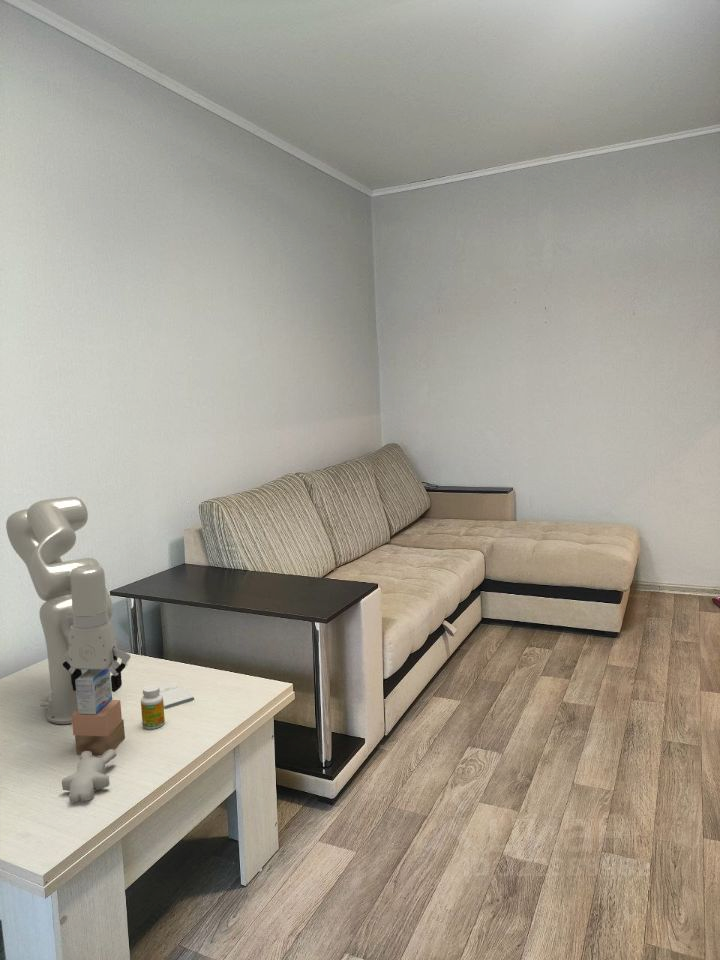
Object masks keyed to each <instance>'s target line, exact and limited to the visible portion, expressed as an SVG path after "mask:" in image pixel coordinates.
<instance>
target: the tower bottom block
mask: <svg viewBox="0 0 720 960" xmlns="http://www.w3.org/2000/svg"><path fill="white" fill-rule="evenodd" d="M125 734H126V733H125V721H124V719H123V718H122V720H121V721H120V722H119V723H118V724H117V725H116V726H115V727H114V728H113V730H112V731H111V732H110V733H109V734H108V735H107V736H81V735H74V737H75V749H76V755H79V756H81V754H82V752H84V751H90V752H91V753H92V756H100V757H101V756H102V755H103V753H104V752H106V751H107V750H109V749H113V750H114V751H115V750H116V749H117V748H118V747H119V746H120V744H122V743H123V741H124V740H125V739H126V735H125Z"/></svg>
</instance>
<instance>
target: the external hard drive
mask: <svg viewBox="0 0 720 960" xmlns="http://www.w3.org/2000/svg"><path fill="white" fill-rule="evenodd" d="M159 688H160V694H162V696H163V704H164V710H167V709H171V708H173V707H177V706H180V705H185V704H187V703H190V702H193V700H194V701H195V697H194V695H192V694H191V693H190V692H189V691H188V690H186V689H185V688H184V687H183V686H182V685H181V684H179V682H177V681H174V682H171V683H167V684H164V685H161V686H160V685H159Z"/></svg>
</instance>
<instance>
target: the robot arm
mask: <svg viewBox="0 0 720 960" xmlns="http://www.w3.org/2000/svg"><path fill="white" fill-rule="evenodd" d="M88 515H89V513H88V508H87V505H86V504H85V502H84V501H83V500H82V499H81V498H79V497H77V496H68V497H66V496H65V497H60V498H59V497H57V498H50V499H44V500H39V501H36V502H35V503H33V504H31V506H30V507H28V508H26V509H22V510H18V511H15V512H13V513H12V514H10V515H9V516H8V518H7V520H6V525H5V527H6V528H5V529H6V534H7V537H8V540H9V543H10V545H11V547H12V548H13V550H14V552H15V553H16V554H17V555H18V557H19V558H20V559H21V561H23V563H24V564H25V566H26V568H27V570H28V573H29V576H30V579H31V581H32V585H33V587H34V589H35V591H36V593H37V596H38V597H39V599H40V600H42V601H45V602H44V603H42V604H41V606H40V607H39V611H38V613H39V620H40V621H39V622H40V624H41V628H42V631H43V635H44V640H45V644H46V652H47V653H46V654H47V662H48V672H49V674H48V675H49V683H50V684H49V685H50V694H51V695H42V696H41V697H40V702H39V707H40V708H41V707H43V708H48V711H47V713H46V718H47V721H48V722H49V723H53V724H54V725H55V724H56V725H70V724H72V716H71V715H72V714H73V713H74V712H75V711H76V710H77V709H78V703H77V693H76V683H75V680H76V679H77V678H78V677H80V676H81V675H82V674H83V673H85V672H86V671H87V670H89V669H92V670H105V669H108V670H109V671H110V674H112V675H110V679H111V690H112V693H116V692H117V691H119V689H120V688H122V685H123V681H122V672H123V671H124V669H125V668H126V667H127V666H128V663H129V661H130V659H131V655H130V654H129V653H127V652H125V651H123V650H121V649H119V648H118V646H117V639H116V634H115V631H114V628H113V627H114V626H113V625H112V622H111V621H110V620H112V618H113V615H114V606H113V605H114V604H113V602H112V599H111V597H110V594H109V592H108V589H107V586H106V577H105V576H106V575H105V570H104V568H103V567H102V565H101V563H100V562H99V561H98V560H97V559H95V558H94V557H85V558H83V557H82V558H78V559H71V560H66V561H62V559H61V557H62V556H64V555H66V554H67V553H68V552H69V551H71V550H72V549H73V548H74V546H75V544H76V541H77V534H76V532H77V531H78V530H81V529H82V528H83V527H84V526H86V524H87V523H88V519H89V518H88ZM118 659H120V660H121V662H120V663H119V662H118Z"/></svg>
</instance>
